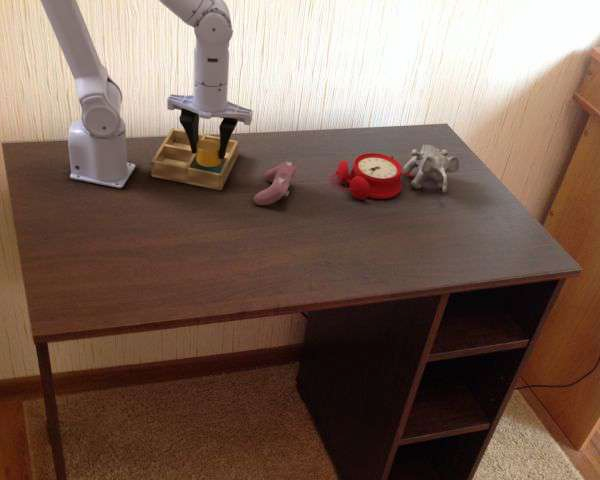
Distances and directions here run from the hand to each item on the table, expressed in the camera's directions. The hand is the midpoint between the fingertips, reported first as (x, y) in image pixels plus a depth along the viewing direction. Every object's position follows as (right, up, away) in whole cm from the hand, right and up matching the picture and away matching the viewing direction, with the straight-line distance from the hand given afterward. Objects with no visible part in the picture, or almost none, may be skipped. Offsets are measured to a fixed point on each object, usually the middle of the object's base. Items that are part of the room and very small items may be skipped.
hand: (208, 153), depth 135 cm
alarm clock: (+29, -4, +8) cm, 30 cm away
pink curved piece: (+12, -7, +2) cm, 14 cm away
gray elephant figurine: (+41, -3, +10) cm, 43 cm away
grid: (-3, 0, +6) cm, 7 cm away
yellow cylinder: (0, -1, +1) cm, 1 cm away
